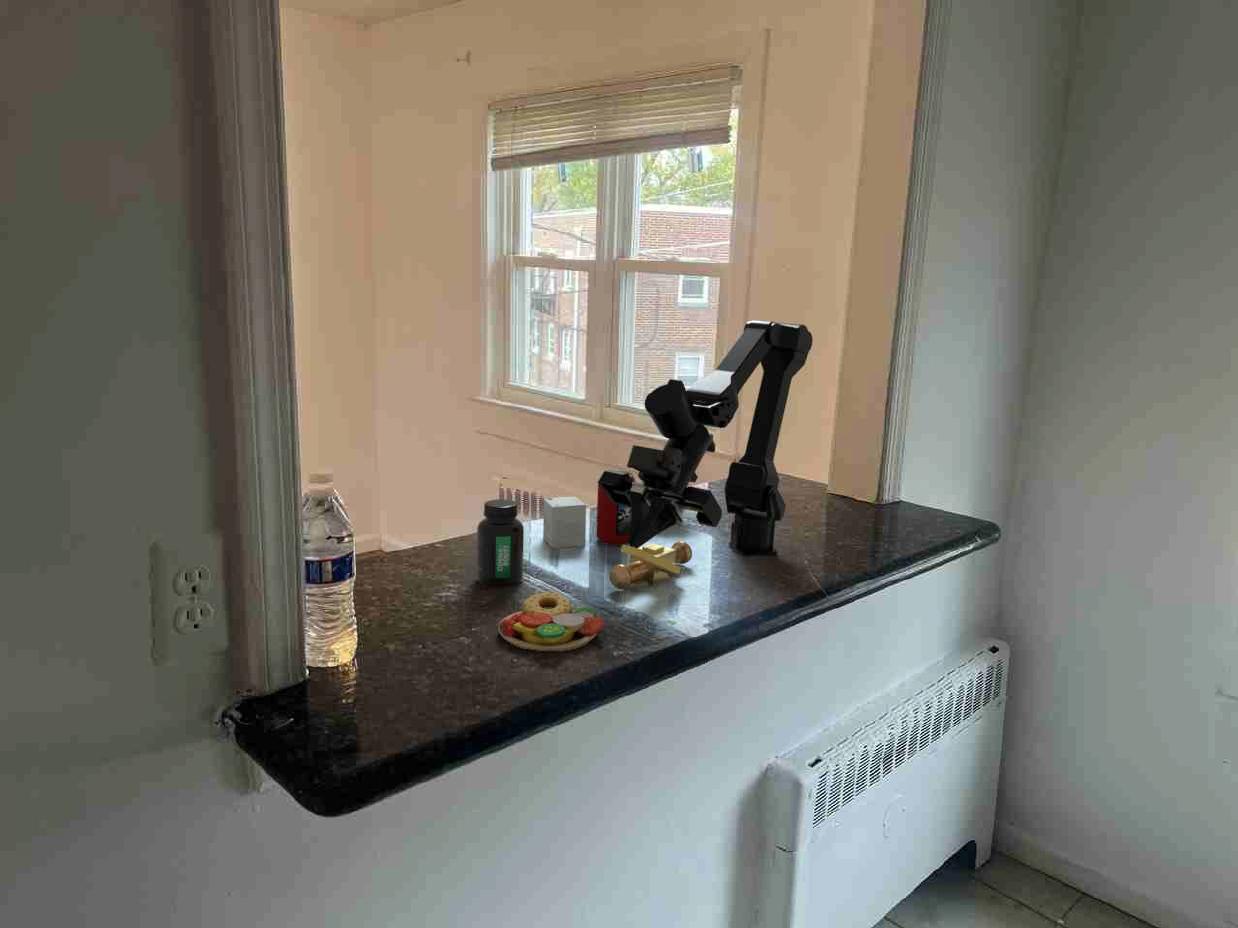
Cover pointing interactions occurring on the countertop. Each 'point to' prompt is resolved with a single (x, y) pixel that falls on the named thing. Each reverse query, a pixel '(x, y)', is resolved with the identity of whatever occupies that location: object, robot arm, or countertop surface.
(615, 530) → the beverage can
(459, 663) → the countertop surface
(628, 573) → the valve body
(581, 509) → the skincare box
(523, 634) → the toy food set
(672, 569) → the lever
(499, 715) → the countertop surface
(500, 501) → the supplement bottle
